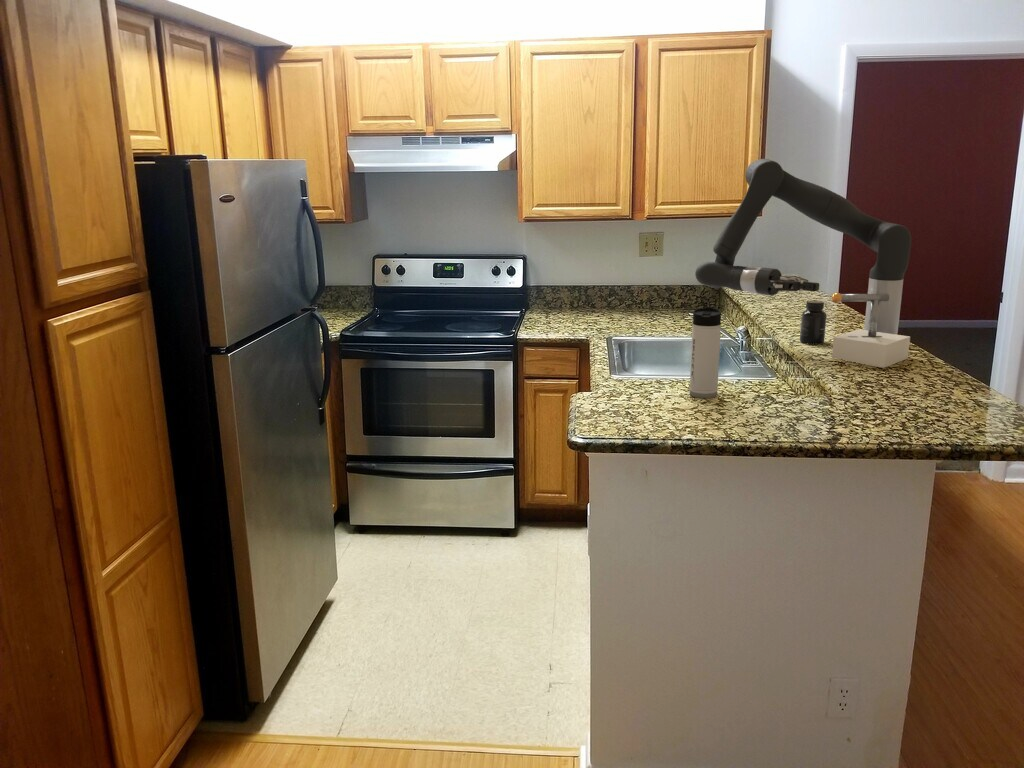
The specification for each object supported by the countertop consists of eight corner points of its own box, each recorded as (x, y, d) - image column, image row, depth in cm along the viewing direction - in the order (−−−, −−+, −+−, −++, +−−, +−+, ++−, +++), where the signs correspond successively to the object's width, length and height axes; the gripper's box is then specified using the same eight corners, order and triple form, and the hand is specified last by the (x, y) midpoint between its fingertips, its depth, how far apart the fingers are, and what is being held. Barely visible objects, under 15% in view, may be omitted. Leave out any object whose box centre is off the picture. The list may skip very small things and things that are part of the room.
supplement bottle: (826, 345, 231) (829, 304, 227) (801, 344, 232) (804, 303, 229) (822, 340, 237) (825, 300, 234) (798, 339, 238) (801, 299, 235)
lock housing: (856, 350, 224) (858, 328, 222) (907, 358, 213) (910, 336, 212) (831, 358, 215) (833, 336, 213) (883, 367, 205) (886, 344, 203)
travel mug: (718, 391, 187) (722, 307, 182) (715, 399, 181) (720, 312, 176) (691, 389, 189) (694, 306, 184) (687, 397, 183) (691, 311, 178)
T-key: (881, 334, 214) (886, 291, 211) (885, 336, 211) (890, 293, 208) (826, 334, 215) (830, 291, 211) (829, 337, 212) (833, 293, 209)
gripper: (748, 269, 222) (806, 275, 210) (774, 265, 231) (831, 271, 218) (746, 296, 224) (803, 304, 212) (772, 291, 233) (828, 298, 220)
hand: (817, 287), depth 215 cm, fingers closed
